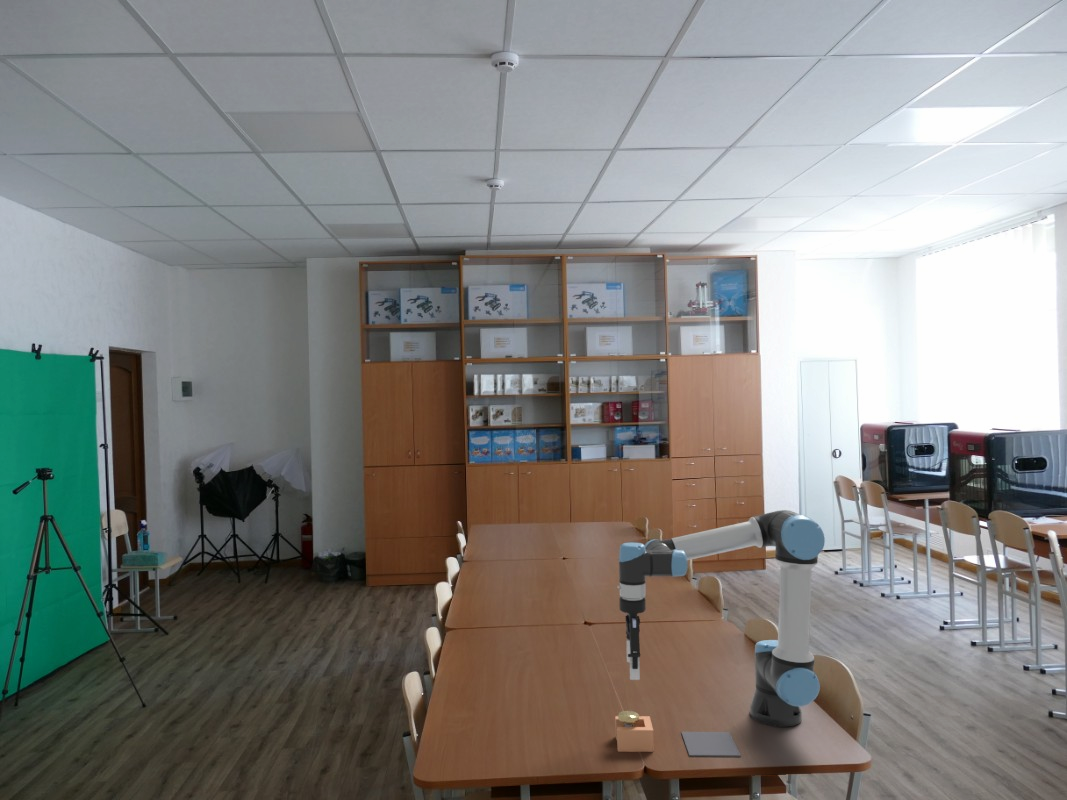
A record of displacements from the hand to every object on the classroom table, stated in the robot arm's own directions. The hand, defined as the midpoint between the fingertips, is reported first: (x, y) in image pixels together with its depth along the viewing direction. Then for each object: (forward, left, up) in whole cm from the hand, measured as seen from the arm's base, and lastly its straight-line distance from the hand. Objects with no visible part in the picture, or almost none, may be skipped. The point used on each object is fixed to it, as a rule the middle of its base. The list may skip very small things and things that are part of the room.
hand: (633, 670), depth 207 cm
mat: (-21, +2, -20) cm, 29 cm away
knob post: (+2, +2, -20) cm, 20 cm away
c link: (0, +2, -20) cm, 20 cm away
